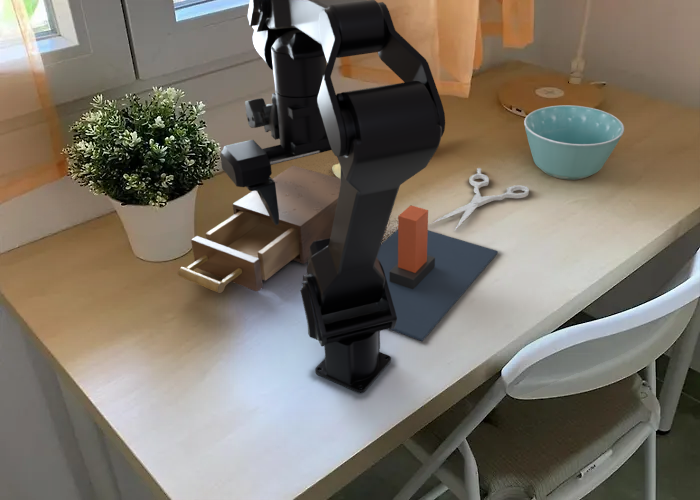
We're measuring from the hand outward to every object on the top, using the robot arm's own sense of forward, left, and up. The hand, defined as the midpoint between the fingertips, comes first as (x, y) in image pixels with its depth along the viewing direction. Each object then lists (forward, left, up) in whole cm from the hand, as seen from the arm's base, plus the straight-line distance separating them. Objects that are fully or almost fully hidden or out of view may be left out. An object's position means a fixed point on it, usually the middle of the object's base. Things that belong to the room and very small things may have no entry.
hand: (311, 213), depth 84 cm
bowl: (+51, -15, -13) cm, 55 cm away
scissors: (+32, -7, -13) cm, 35 cm away
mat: (+10, -8, -13) cm, 18 cm away
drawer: (0, +12, -12) cm, 17 cm away
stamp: (+10, -8, -12) cm, 18 cm away
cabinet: (+12, +12, -13) cm, 21 cm away
